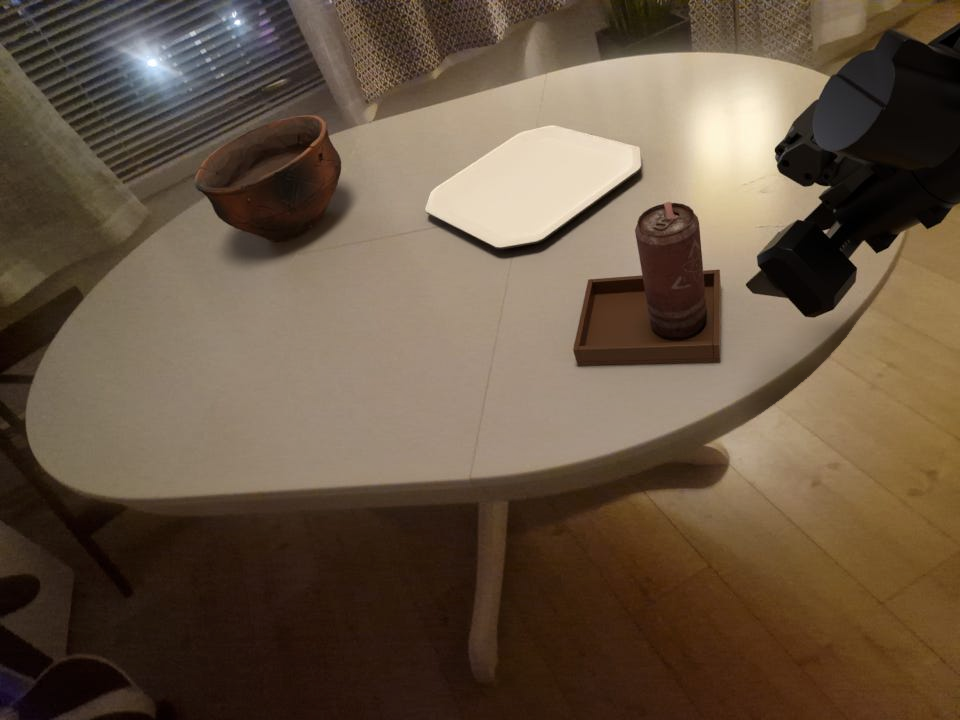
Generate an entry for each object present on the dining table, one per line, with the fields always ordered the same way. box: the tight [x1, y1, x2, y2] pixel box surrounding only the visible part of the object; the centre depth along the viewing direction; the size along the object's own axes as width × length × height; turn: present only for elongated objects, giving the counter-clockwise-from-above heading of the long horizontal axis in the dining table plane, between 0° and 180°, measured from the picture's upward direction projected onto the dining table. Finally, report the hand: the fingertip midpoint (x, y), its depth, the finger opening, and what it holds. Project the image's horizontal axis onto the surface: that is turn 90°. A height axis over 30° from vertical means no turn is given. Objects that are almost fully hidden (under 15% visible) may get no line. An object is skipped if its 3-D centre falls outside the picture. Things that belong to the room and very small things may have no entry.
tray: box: [572, 269, 722, 367], centre depth 74 cm, size 15×12×3 cm
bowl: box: [194, 114, 342, 243], centre depth 116 cm, size 25×25×15 cm
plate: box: [424, 124, 643, 250], centre depth 103 cm, size 29×29×2 cm
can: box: [634, 201, 707, 339], centre depth 68 cm, size 6×6×14 cm
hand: (777, 257), depth 57 cm, fingers open, 9 cm apart
